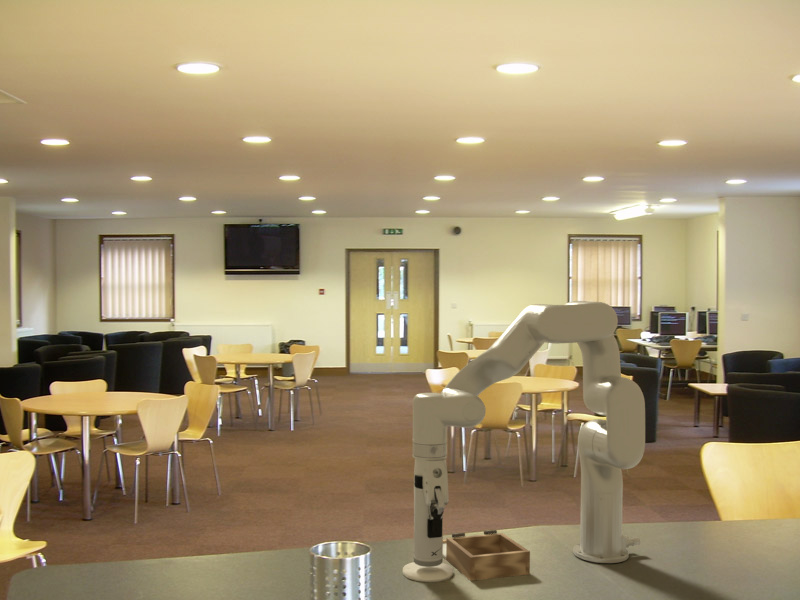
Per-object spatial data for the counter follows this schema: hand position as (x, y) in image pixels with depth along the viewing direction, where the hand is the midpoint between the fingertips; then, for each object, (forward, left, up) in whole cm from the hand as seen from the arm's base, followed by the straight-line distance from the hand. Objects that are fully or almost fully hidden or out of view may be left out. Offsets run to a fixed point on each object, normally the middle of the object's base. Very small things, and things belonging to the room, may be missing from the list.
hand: (429, 531), depth 179 cm
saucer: (0, 0, -9) cm, 9 cm away
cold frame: (-14, -6, -9) cm, 17 cm away
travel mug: (0, 0, -7) cm, 7 cm away
